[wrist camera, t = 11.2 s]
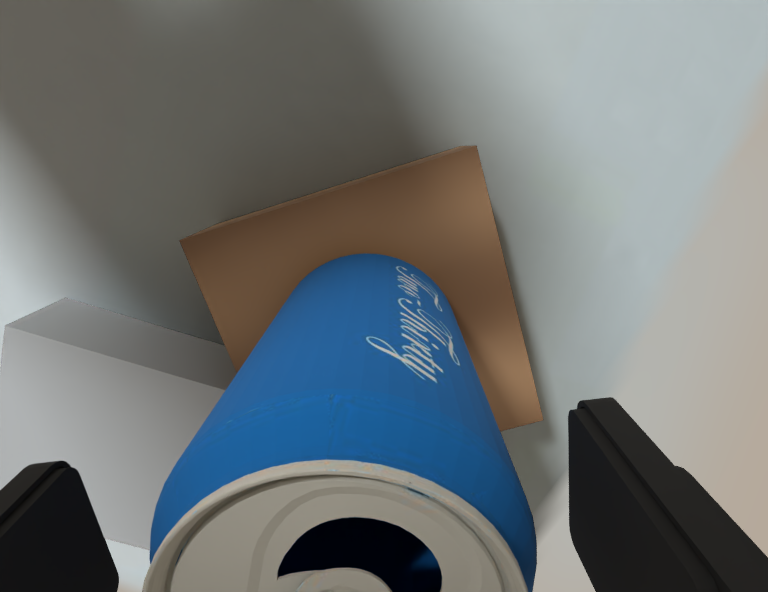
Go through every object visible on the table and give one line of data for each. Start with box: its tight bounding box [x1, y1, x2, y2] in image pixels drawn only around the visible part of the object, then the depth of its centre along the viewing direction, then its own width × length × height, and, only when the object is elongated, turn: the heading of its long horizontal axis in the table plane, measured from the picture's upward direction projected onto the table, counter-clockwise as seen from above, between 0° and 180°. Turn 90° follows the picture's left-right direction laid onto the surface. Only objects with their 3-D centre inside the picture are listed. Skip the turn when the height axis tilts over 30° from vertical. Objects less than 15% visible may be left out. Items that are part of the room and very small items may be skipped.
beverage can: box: [142, 253, 537, 592], centre depth 13 cm, size 6×6×12 cm
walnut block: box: [179, 146, 543, 431], centre depth 20 cm, size 11×11×4 cm
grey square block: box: [0, 298, 237, 550], centre depth 22 cm, size 9×9×4 cm
